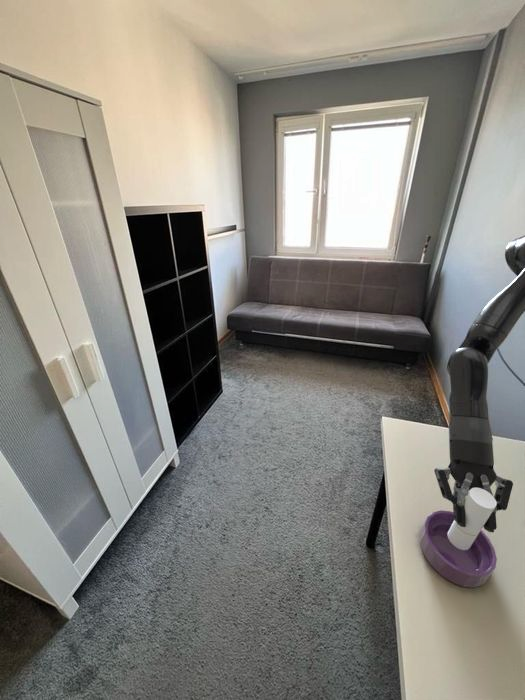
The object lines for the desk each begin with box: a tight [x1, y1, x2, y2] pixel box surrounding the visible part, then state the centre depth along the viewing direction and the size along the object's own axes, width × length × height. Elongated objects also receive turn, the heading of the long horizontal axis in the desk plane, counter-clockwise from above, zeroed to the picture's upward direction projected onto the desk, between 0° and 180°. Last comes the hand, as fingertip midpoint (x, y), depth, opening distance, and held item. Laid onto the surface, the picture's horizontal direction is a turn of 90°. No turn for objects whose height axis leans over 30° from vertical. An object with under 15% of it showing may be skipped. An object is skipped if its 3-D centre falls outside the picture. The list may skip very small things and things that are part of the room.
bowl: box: [419, 509, 498, 589], centre depth 62 cm, size 13×13×6 cm
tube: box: [447, 488, 497, 550], centre depth 58 cm, size 4×4×15 cm
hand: (474, 527), depth 56 cm, fingers closed on tube, 4 cm apart
